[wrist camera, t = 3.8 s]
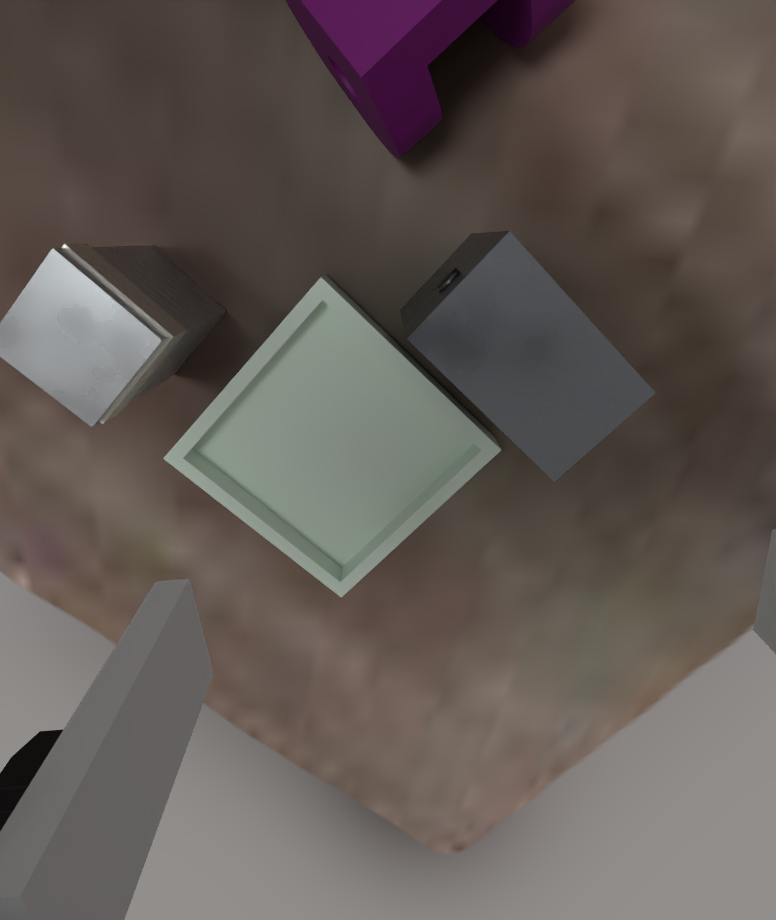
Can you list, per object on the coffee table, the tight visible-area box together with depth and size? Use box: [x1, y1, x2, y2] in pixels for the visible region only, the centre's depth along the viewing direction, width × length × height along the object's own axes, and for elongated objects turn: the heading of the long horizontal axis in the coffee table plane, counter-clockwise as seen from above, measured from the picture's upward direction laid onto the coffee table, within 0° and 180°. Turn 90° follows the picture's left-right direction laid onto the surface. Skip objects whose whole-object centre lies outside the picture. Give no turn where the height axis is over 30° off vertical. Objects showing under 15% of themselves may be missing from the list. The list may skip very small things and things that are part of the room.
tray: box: [163, 274, 501, 597], centre depth 34 cm, size 14×14×2 cm
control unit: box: [400, 231, 656, 482], centre depth 28 cm, size 10×6×10 cm, turn 46°
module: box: [0, 244, 227, 427], centre depth 27 cm, size 5×5×10 cm
